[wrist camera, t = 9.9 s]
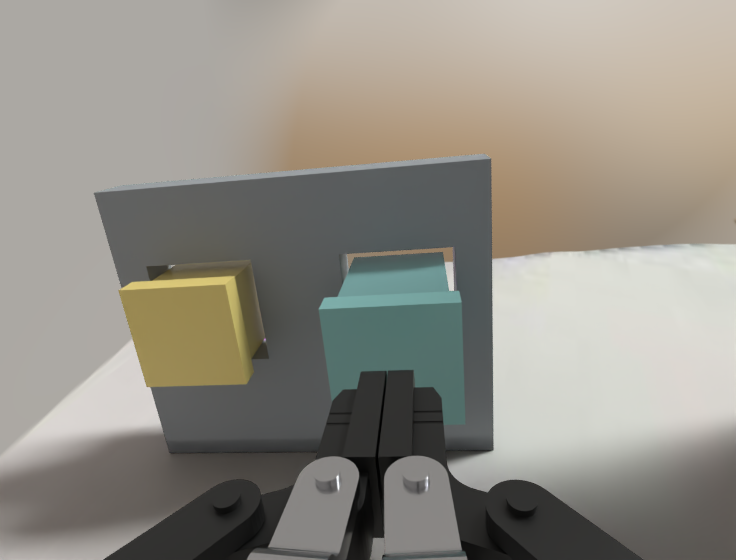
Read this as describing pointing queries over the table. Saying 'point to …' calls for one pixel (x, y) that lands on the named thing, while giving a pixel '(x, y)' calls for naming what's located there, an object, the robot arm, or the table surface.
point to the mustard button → (196, 324)
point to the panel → (307, 281)
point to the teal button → (397, 327)
